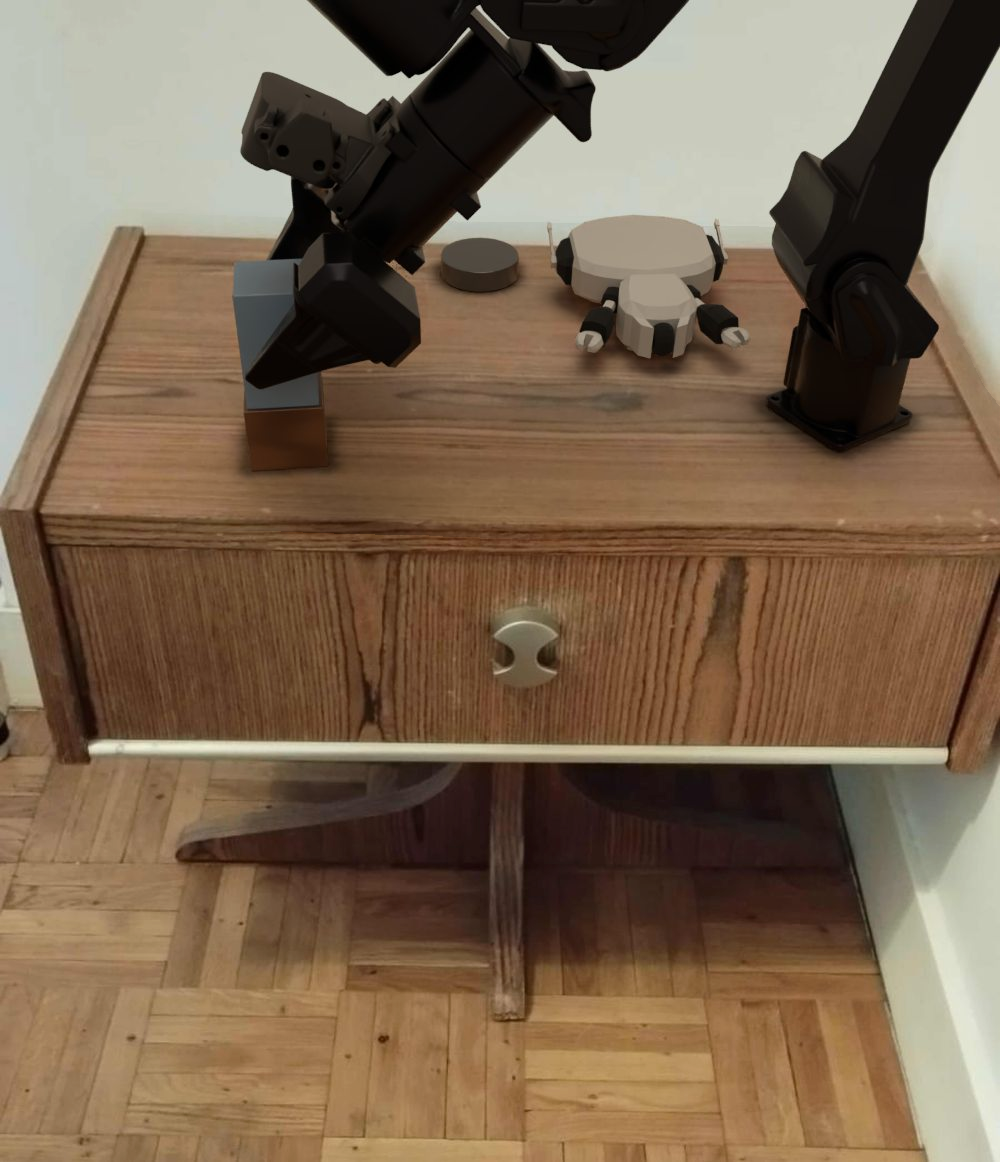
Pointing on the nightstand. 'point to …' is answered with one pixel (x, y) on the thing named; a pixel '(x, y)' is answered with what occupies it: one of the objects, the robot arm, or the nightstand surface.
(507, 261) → the disc
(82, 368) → the nightstand surface
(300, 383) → the top block
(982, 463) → the nightstand surface
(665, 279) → the robot toy
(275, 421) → the base block
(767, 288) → the nightstand surface
